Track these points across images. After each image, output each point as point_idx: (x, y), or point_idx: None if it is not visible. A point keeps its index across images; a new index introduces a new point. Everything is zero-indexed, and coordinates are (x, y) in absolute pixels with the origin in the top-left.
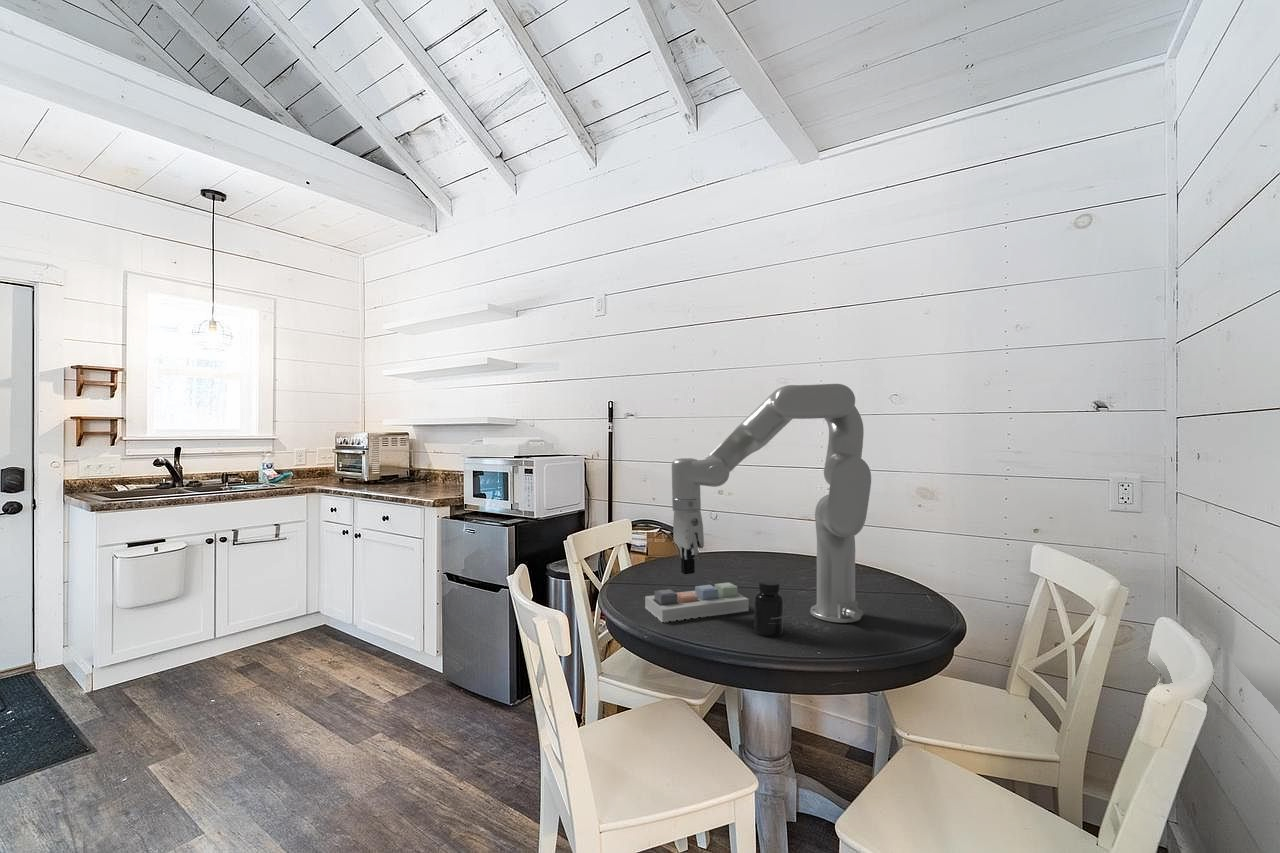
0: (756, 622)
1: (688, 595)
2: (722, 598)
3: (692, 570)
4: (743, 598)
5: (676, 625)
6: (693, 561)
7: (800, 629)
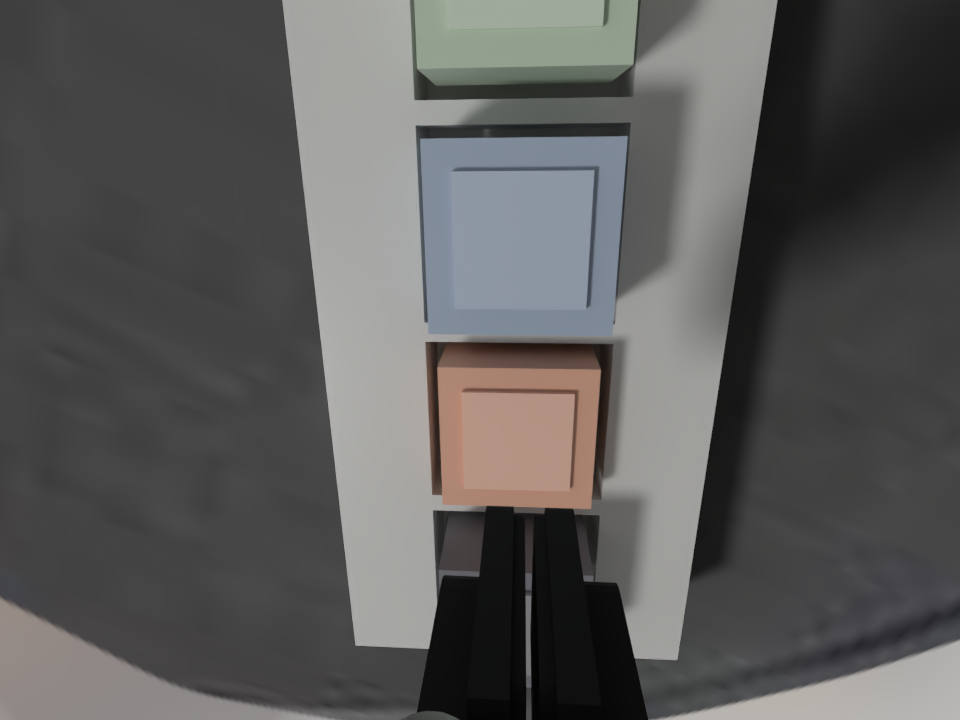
0: None
1: (557, 442)
2: (644, 100)
3: (614, 583)
4: None
5: (737, 546)
6: (588, 660)
7: None
